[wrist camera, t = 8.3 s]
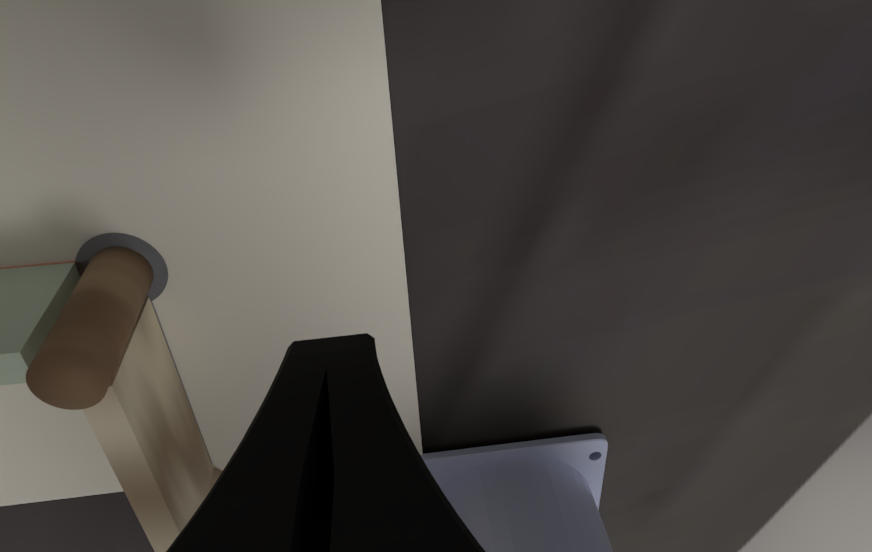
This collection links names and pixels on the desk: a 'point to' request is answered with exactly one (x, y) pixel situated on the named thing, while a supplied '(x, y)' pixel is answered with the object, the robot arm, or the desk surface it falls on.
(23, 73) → the card
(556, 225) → the desk surface
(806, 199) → the desk surface
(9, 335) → the fence swing panel
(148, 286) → the fence fixed section
